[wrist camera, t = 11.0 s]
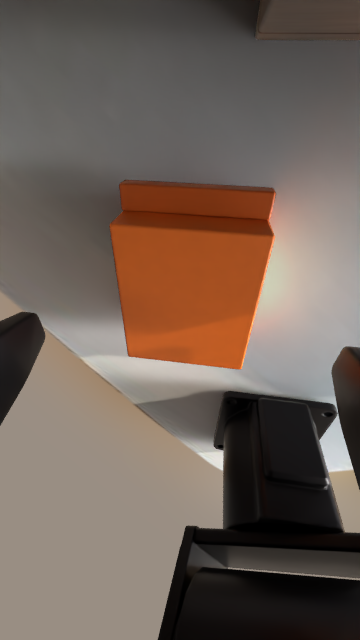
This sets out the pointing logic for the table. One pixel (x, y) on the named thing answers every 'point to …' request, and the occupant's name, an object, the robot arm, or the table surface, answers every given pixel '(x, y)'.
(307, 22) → the cabinet
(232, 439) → the robot arm
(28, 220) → the table surface
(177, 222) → the orange box
